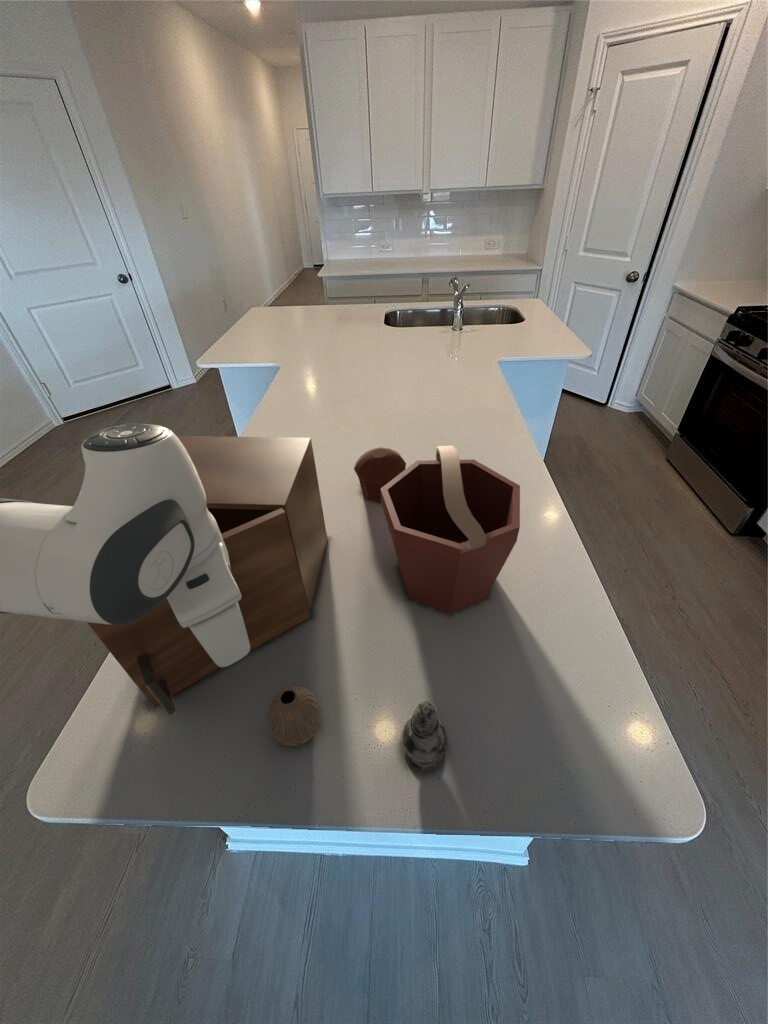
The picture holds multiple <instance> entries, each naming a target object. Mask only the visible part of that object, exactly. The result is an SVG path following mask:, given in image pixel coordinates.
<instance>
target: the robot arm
mask: <svg viewBox="0 0 768 1024" xmlns="http://www.w3.org/2000/svg"><path fill="white" fill-rule="evenodd" d="M177 436H178V435H177V434H175V432H173V431H172V430H171V429H170V428H168V427H165V426H162V425H157V424H148V423H126V424H120V425H114V426H110V427H105V428H104V429H103V428H102V429H101V430H98V431H96V432H94V433H92V434H91V435H89V436H88V437H87V438H85V440H83V442H82V443H81V455H82V457H83V461H84V464H85V467H84V476H83V480H82V485H81V488H80V490H79V494H78V496H77V498H76V500H75V502H74V504H73V505H61V504H48V503H39V502H33V501H28V500H20V499H12V498H1V497H0V614H14V615H15V614H17V615H23V616H31V617H40V618H49V619H55V620H56V619H57V620H65V621H73V622H82V623H87V622H89V623H99V624H111V625H128V624H131V623H134V622H136V621H138V620H140V619H142V618H144V617H145V616H147V615H148V614H149V613H151V612H152V611H153V610H154V609H156V608H157V607H158V606H159V605H160V604H161V603H162V602H163V601H164V600H165V601H166V602H167V604H168V605H169V607H170V608H171V610H172V612H173V614H174V616H175V617H176V619H177V621H178V622H179V623H180V625H181V626H182V627H183V628H186V627H188V626H189V628H190V629H191V631H192V632H193V634H194V635H195V637H196V638H197V639H198V641H199V642H200V644H201V645H202V646H203V648H204V649H205V650H206V652H207V653H208V654H209V656H210V657H211V658H212V660H213V661H214V662H215V663H216V665H218V666H219V667H221V668H226V667H229V666H231V665H232V664H235V663H237V662H238V661H240V660H242V659H243V658H245V657H246V656H247V655H248V654H249V653H250V652H251V651H250V643H249V639H248V635H247V631H246V628H245V624H244V620H243V617H242V614H241V611H240V608H239V605H238V601H239V600H241V598H242V596H241V593H240V590H239V588H238V585H237V583H236V580H235V578H234V576H233V574H232V572H231V568H230V561H229V556H228V551H227V548H226V546H225V543H224V540H223V538H222V535H221V533H220V530H219V527H218V525H217V522H216V520H215V518H214V517H213V515H212V514H211V513H210V512H209V511H208V509H207V506H206V494H205V491H204V488H203V485H202V483H201V480H200V478H199V475H198V473H197V471H196V469H195V466H194V464H193V462H192V460H191V458H190V456H189V454H188V452H187V451H186V449H185V447H184V446H183V444H182V443H181V441H180V440H179V439H178V437H177Z"/></svg>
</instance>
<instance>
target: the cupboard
mask: <svg viewBox="0 0 768 1024" xmlns="http://www.w3.org/2000/svg"><path fill="white" fill-rule="evenodd" d="M176 436H177V437H178V439H179V440H180V441H181V443H182V444H183V446H184V447H185V449H186V451H187V452H188V454H189V456H190V458H191V460H192V462H193V464H194V466H195V469H196V471H197V473H198V475H199V478H200V480H201V483H202V485H203V488H204V491H205V494H206V506H207V509H208V511H209V512H210V513H211V514H212V515H213V517H214V518H215V520H216V522H217V525H218V527H219V530H220V533H221V534H222V533H224V532H227V531H229V530H231V529H234V528H236V527H238V526H241V525H243V524H245V523H248V522H250V521H252V520H255V519H257V518H259V517H261V516H264V515H266V514H268V513H271V512H273V511H275V510H278V509H280V508H282V509H283V510H284V511H285V513H286V517H287V522H288V526H289V530H290V534H291V539H292V543H293V547H294V551H295V556H296V560H297V564H298V568H299V573H300V577H301V581H302V585H303V590H304V594H305V598H306V602H307V607H308V611H309V612H310V610H311V607H312V602H313V599H314V594H315V592H316V586H317V583H318V579H319V574H320V572H321V566H322V564H323V558H324V554H325V550H326V546H327V542H328V535H327V529H326V523H325V522H326V521H325V516H324V510H323V504H322V498H321V492H320V486H319V485H320V484H319V479H318V473H317V467H316V460H315V455H314V448H313V441H312V437H300V436H299V437H297V436H296V437H295V436H294V437H291V436H289V437H286V436H284V437H283V436H278V437H277V436H207V435H206V436H202V435H200V436H199V435H197V436H196V435H195V436H193V435H176Z"/></svg>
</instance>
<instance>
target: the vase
mask: <svg viewBox="0 0 768 1024" xmlns="http://www.w3.org/2000/svg"><path fill="white" fill-rule="evenodd" d="M321 712H322V711H321V706H320V703H319V701H318V699H317V698H316V696H315V695H314V694H313V692H311V691H310V690H309V689H307V688H306V687H303V686H299V685H291V686H288V687H285V688H283V689H282V690H280V691H278V692H277V693H276V694H275V695H274V697H273V698H272V700H271V702H270V703H269V706H268V710H267V725H268V728H269V730H270V733H271V734H272V736H273V737H274V738H275V740H276V741H278V742H279V743H281V744H282V745H285V746H289V747H297V746H301V745H304V744H306V743H307V742H309V741H311V739H312V738H313V737H314V736H315V735H316V733H317V731H318V729H319V726H320V724H321V719H322V716H321V714H322V713H321Z"/></svg>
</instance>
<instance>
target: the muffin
mask: <svg viewBox="0 0 768 1024" xmlns="http://www.w3.org/2000/svg"><path fill="white" fill-rule="evenodd" d="M353 467H354V468H353V470H354V473H355V474H356V476H357V477H358V478H357V479H358V481H359V485H360V488H361V492H362V494H363V495H365V496H366V497H367V499H368V500H371V501H376V502H380V503H381V488H382V487H383V486H385V485H386V484H387V483H388V482H390V481H391V480H392V479H394V478H395V477H396V476H397V475H399V474H400V473H401V472H403V471H404V470H405V469H407V462H406V461H405V459H404V458H403V457H402V455H401V454H400V453H399V452H398V451H396V450H394V449H391V448H388V447H375V448H373V449H370V450H367V451H365V452H364V453H363V454H362V455H361V456H360V457H358V459H357V460H356V461H355V464H354V466H353Z"/></svg>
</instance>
